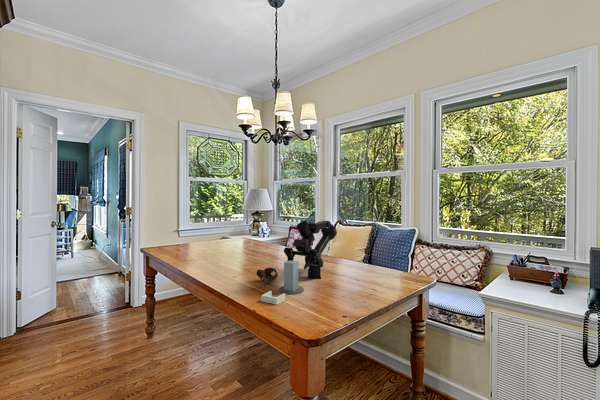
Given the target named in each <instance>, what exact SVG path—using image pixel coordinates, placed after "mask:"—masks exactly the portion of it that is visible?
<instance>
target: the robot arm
mask: <svg viewBox="0 0 600 400" xmlns="http://www.w3.org/2000/svg"><path fill="white" fill-rule="evenodd" d="M295 227H296V230H297V232H298V234H299V235H300V236H301V237H302V238H301V239H299V238H298V239H297V238H294V239H293V242H292V245H293V246H294V247H295V250H294V249H293V247H288V246H286V247H284V249H283V253H284V254H285V256H286V258H287V261H289V260H292V261H294V258H295V256H301V257H304V262H305V263H304V266H303V270H304V271H306V270H307V277H308V279H309V280H310V279H311V280H313V279H314V280H315V279H321V278H322V277H321V276H322V275H321V269H322V268H323V267H324V260H323V258H322V254H323V252H324V251H325V249H326V247H327V245H328V244H329V242H330V241H331V240H332V241H333V240H334V239H335V238H336V236H337V234H338V231H337V228H336V227H335V225H333V224H332V222H331V221H330V220H320V221H318V222H307V221H306V220H302V221H301V222H298V223H297V224H296V226H295ZM320 232H321V234H322V236H321V237H320V239H319V240H318V242H317V243H316V246H315V247H314V248H312V244H313V241H314V242H315V241H316V238H315V236H314V234H319V233H320Z"/></svg>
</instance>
